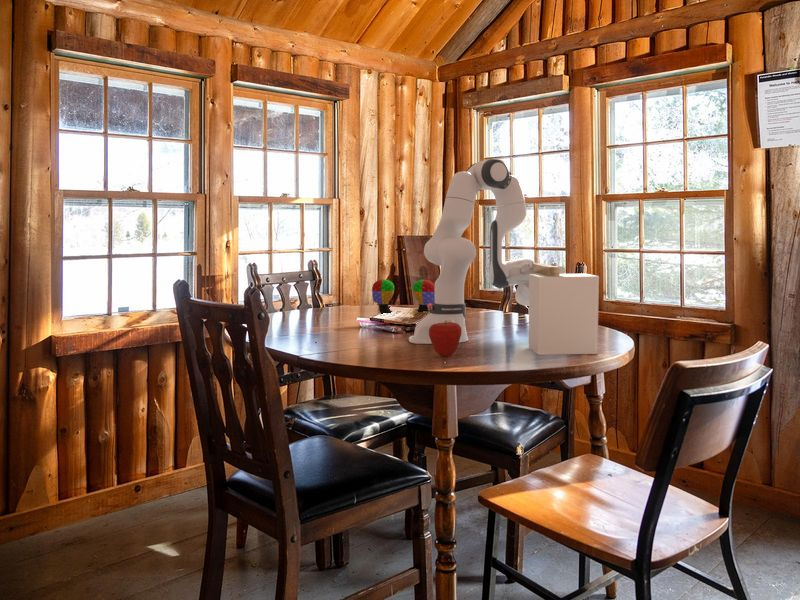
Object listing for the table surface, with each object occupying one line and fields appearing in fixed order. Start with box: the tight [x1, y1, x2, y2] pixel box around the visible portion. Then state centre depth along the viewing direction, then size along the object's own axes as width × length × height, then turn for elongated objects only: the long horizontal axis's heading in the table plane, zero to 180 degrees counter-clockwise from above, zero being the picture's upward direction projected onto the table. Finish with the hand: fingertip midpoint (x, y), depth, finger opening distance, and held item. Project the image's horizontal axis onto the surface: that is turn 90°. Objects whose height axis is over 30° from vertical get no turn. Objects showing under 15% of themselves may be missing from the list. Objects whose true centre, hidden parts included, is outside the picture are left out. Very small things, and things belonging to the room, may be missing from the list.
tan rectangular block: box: [532, 262, 560, 276], centre depth 238 cm, size 4×24×3 cm, turn 3°
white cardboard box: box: [528, 273, 600, 356], centre depth 235 cm, size 20×14×26 cm
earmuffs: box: [371, 278, 435, 315], centre depth 302 cm, size 28×9×20 cm, turn 78°
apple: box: [429, 321, 461, 358], centre depth 228 cm, size 11×11×12 cm
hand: (541, 264), depth 243 cm, fingers open, 8 cm apart
